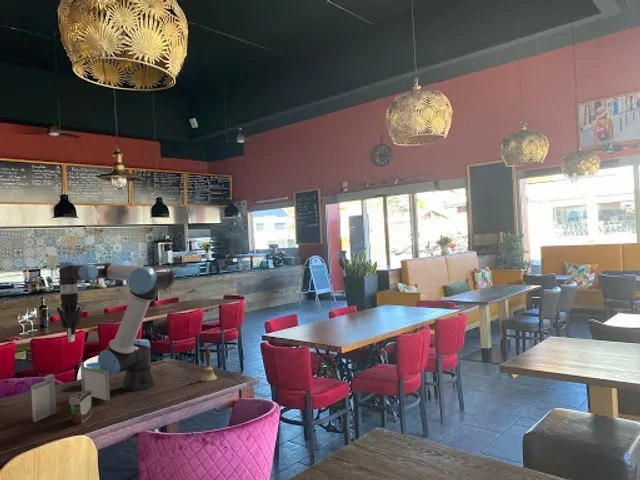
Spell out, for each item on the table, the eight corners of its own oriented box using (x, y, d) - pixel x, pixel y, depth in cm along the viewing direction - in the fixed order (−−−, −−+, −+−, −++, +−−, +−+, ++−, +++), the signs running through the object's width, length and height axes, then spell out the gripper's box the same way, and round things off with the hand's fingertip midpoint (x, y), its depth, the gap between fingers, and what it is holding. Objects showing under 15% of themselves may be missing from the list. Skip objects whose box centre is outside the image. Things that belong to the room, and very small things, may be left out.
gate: (88, 393, 220) (87, 366, 220) (109, 399, 210) (108, 370, 210) (84, 394, 219) (83, 367, 219) (105, 400, 208) (104, 371, 208)
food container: (77, 415, 196) (76, 390, 196) (92, 413, 196) (91, 389, 196) (63, 426, 183) (62, 400, 183) (80, 425, 184) (79, 399, 184)
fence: (89, 396, 221) (87, 361, 222) (37, 421, 190) (35, 381, 190) (84, 396, 222) (82, 361, 222) (31, 421, 190) (30, 381, 191)
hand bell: (220, 377, 241) (218, 346, 241) (208, 382, 234) (206, 350, 234) (208, 376, 245) (207, 345, 245) (196, 380, 238) (195, 348, 238)
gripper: (51, 294, 228) (54, 343, 228) (75, 293, 226) (78, 342, 226) (62, 292, 236) (65, 340, 235) (86, 291, 233) (88, 339, 233)
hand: (71, 341), depth 231 cm, fingers closed
